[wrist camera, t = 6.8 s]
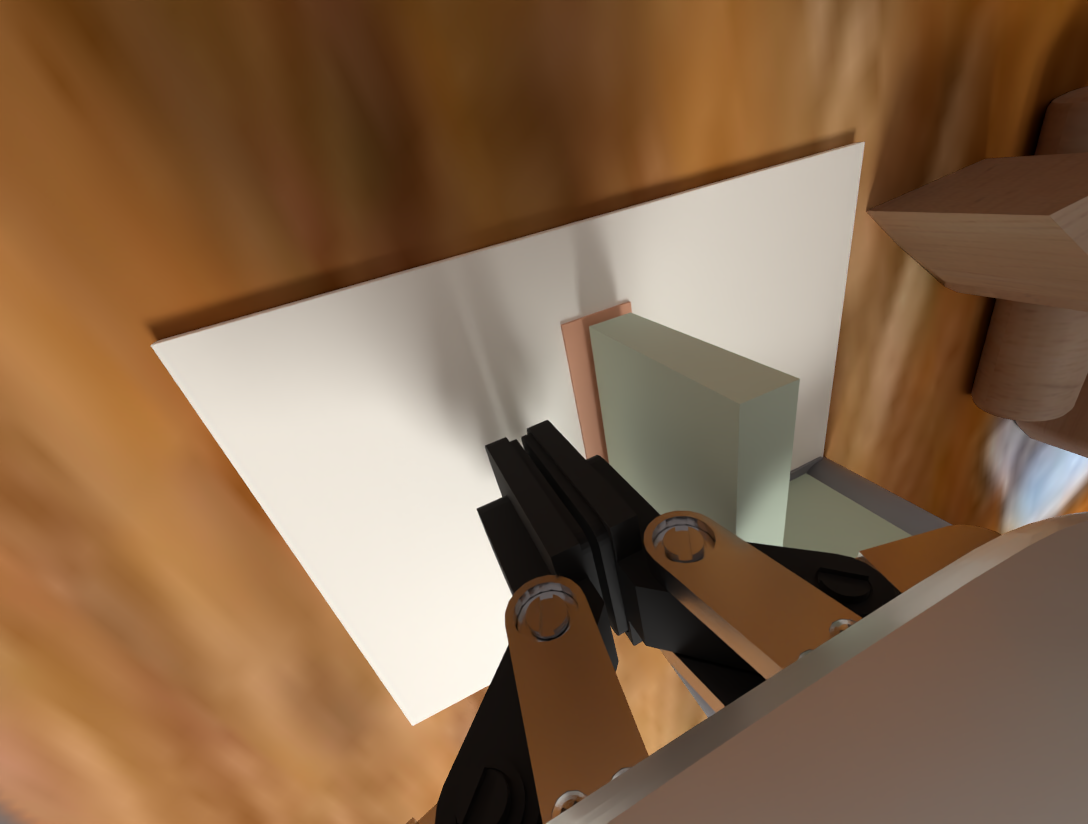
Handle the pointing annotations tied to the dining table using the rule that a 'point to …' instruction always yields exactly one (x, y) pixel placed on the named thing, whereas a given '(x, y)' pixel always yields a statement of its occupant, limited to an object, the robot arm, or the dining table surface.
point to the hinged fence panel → (696, 425)
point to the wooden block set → (1017, 270)
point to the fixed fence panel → (843, 518)
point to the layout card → (499, 392)
